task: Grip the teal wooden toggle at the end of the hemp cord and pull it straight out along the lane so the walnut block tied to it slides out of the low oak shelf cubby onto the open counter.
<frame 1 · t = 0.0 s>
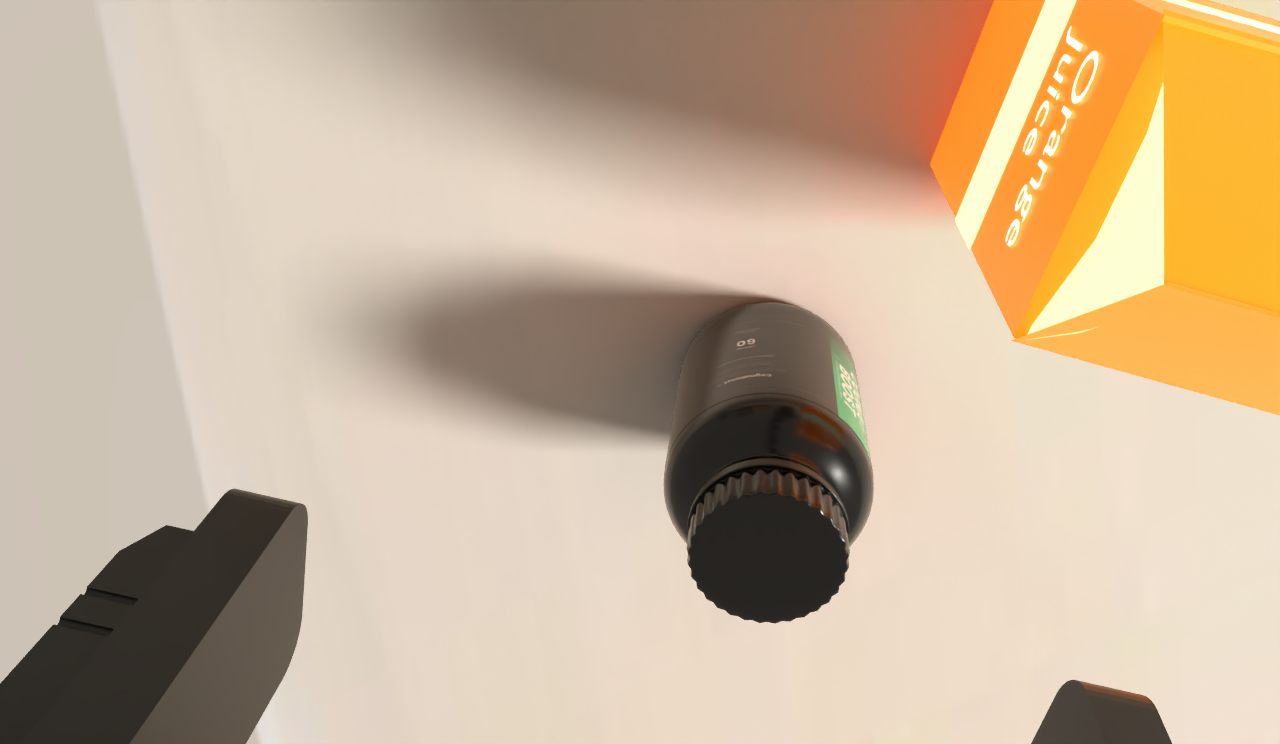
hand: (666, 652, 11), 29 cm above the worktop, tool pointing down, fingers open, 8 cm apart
supplement bottle: (767, 374, 43), on the worktop
orange juice: (1091, 94, 36), on the worktop
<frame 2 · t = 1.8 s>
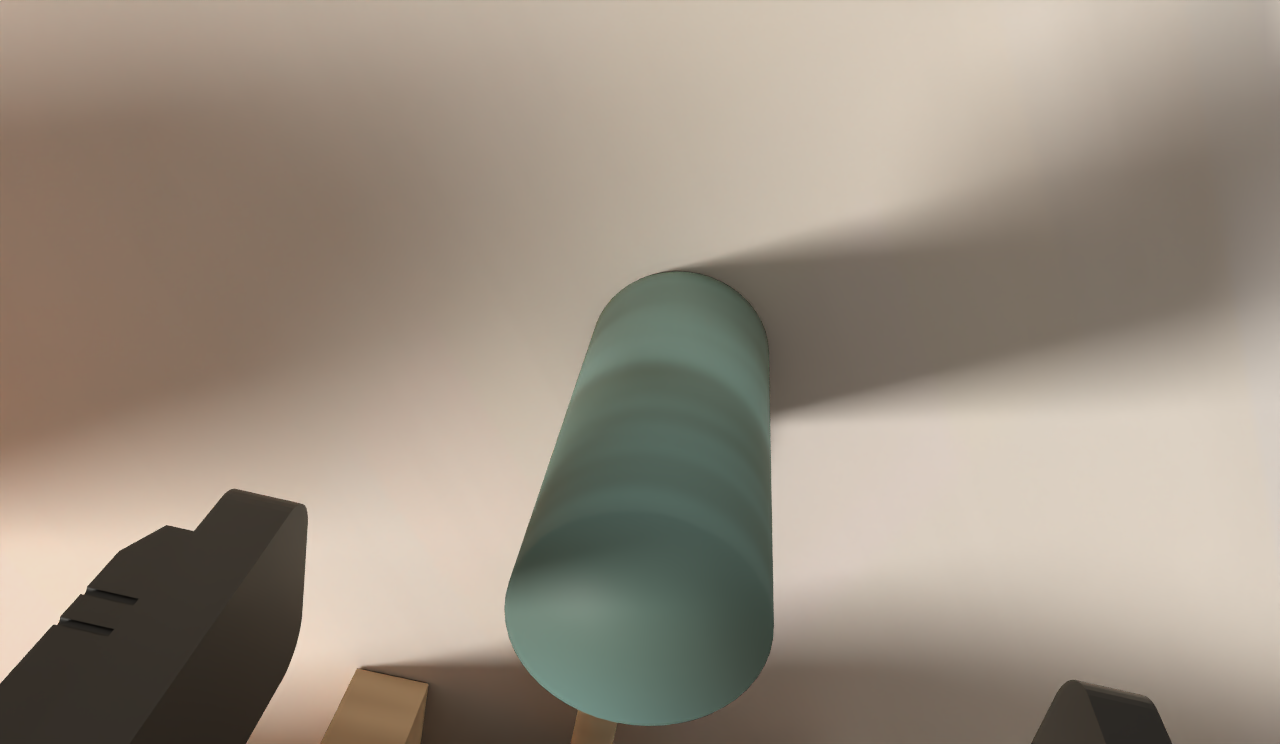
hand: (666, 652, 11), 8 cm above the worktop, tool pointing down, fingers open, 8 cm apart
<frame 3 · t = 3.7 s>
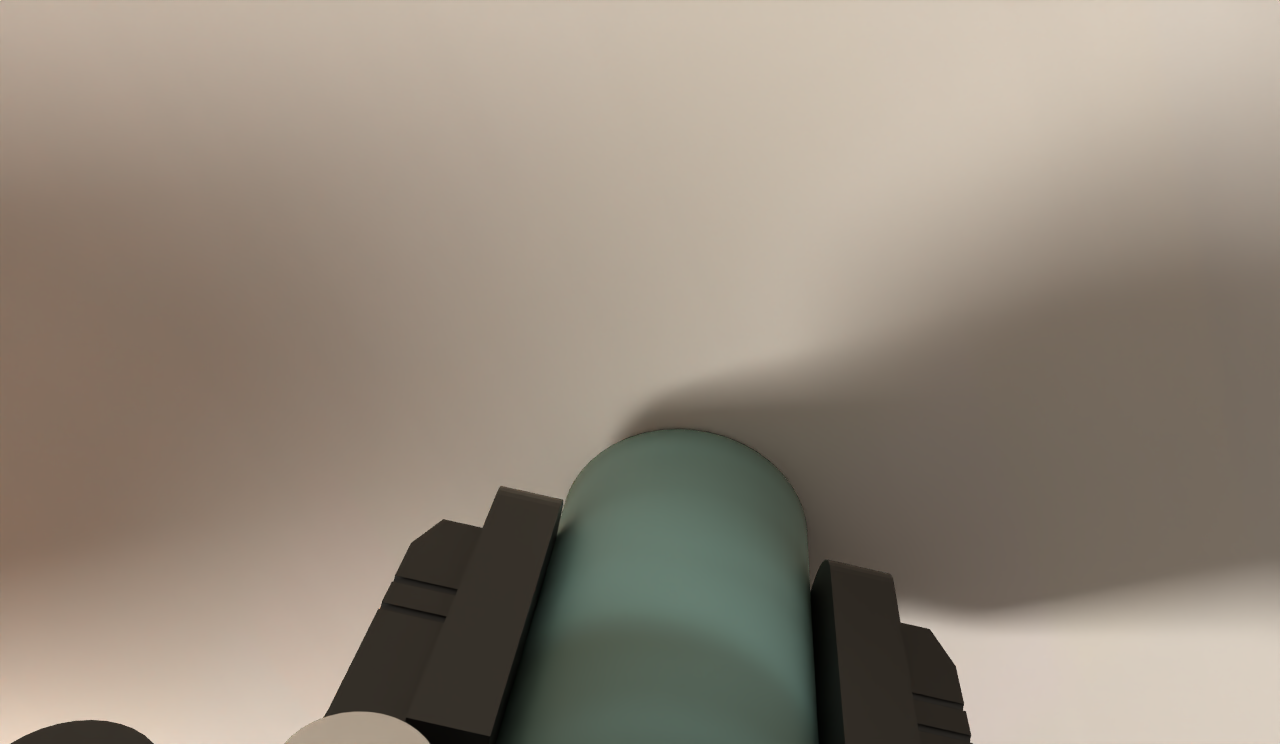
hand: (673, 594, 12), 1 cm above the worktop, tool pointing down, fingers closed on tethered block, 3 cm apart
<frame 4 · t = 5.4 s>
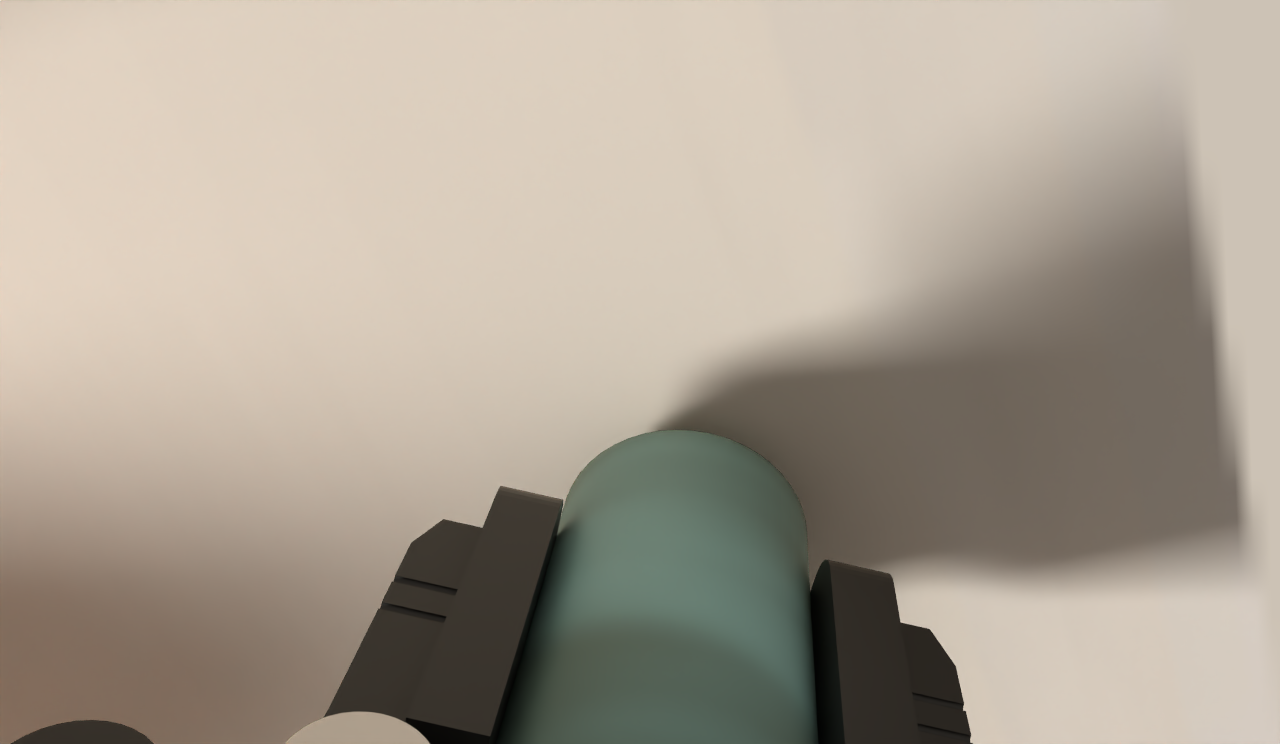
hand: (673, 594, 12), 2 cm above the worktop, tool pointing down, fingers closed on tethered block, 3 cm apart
when the fingers open (2 cm above the worktop, at t = 7.1 s): tethered block stays where it is, on the worktop.
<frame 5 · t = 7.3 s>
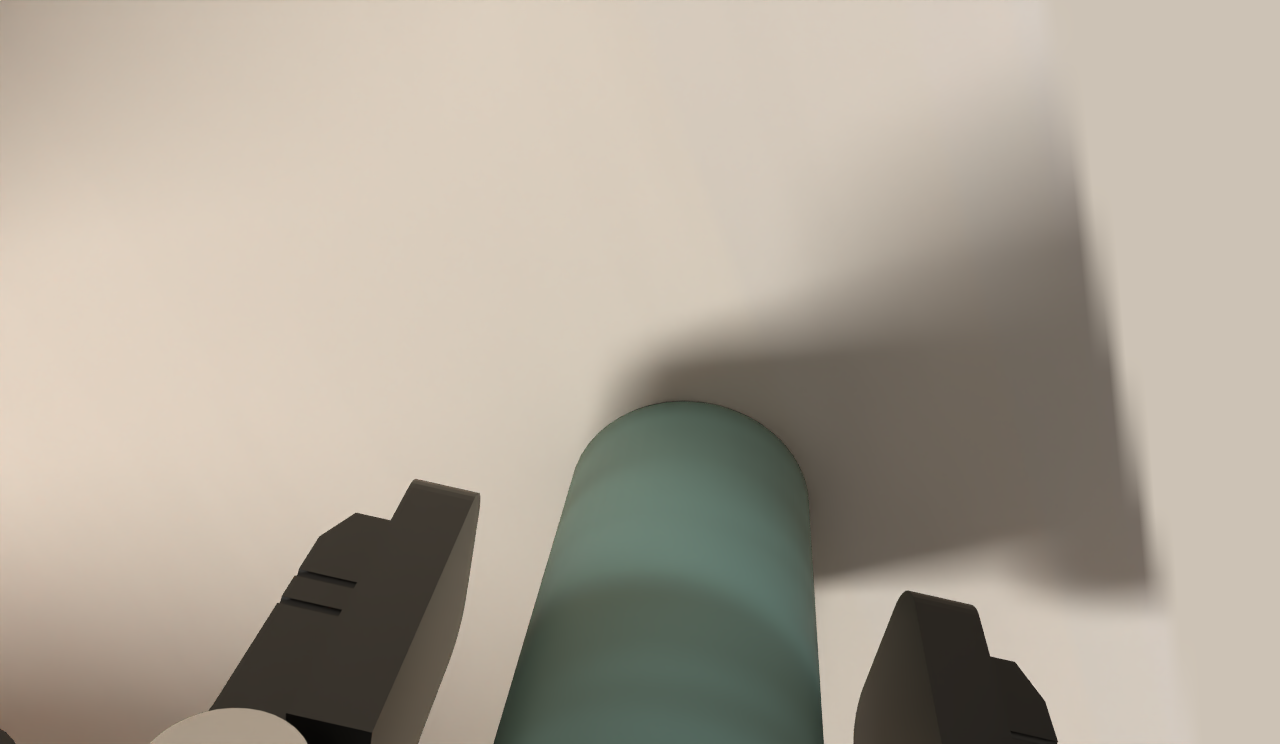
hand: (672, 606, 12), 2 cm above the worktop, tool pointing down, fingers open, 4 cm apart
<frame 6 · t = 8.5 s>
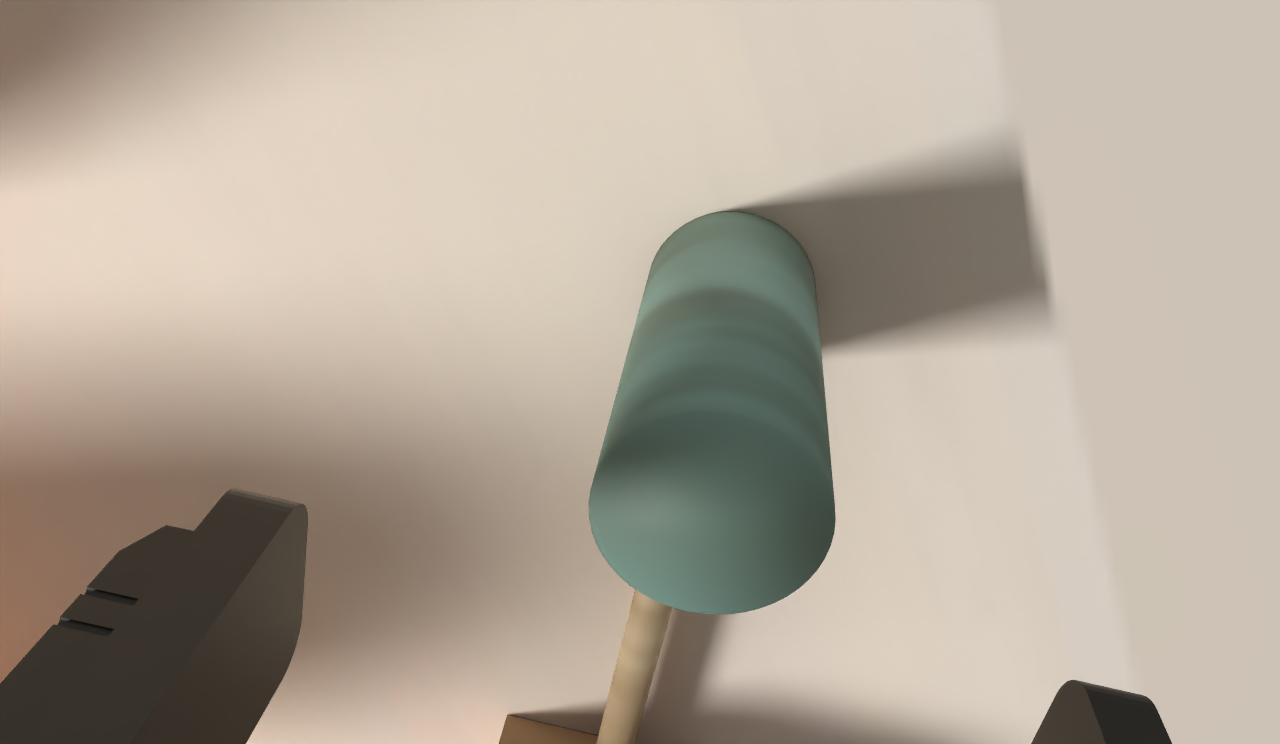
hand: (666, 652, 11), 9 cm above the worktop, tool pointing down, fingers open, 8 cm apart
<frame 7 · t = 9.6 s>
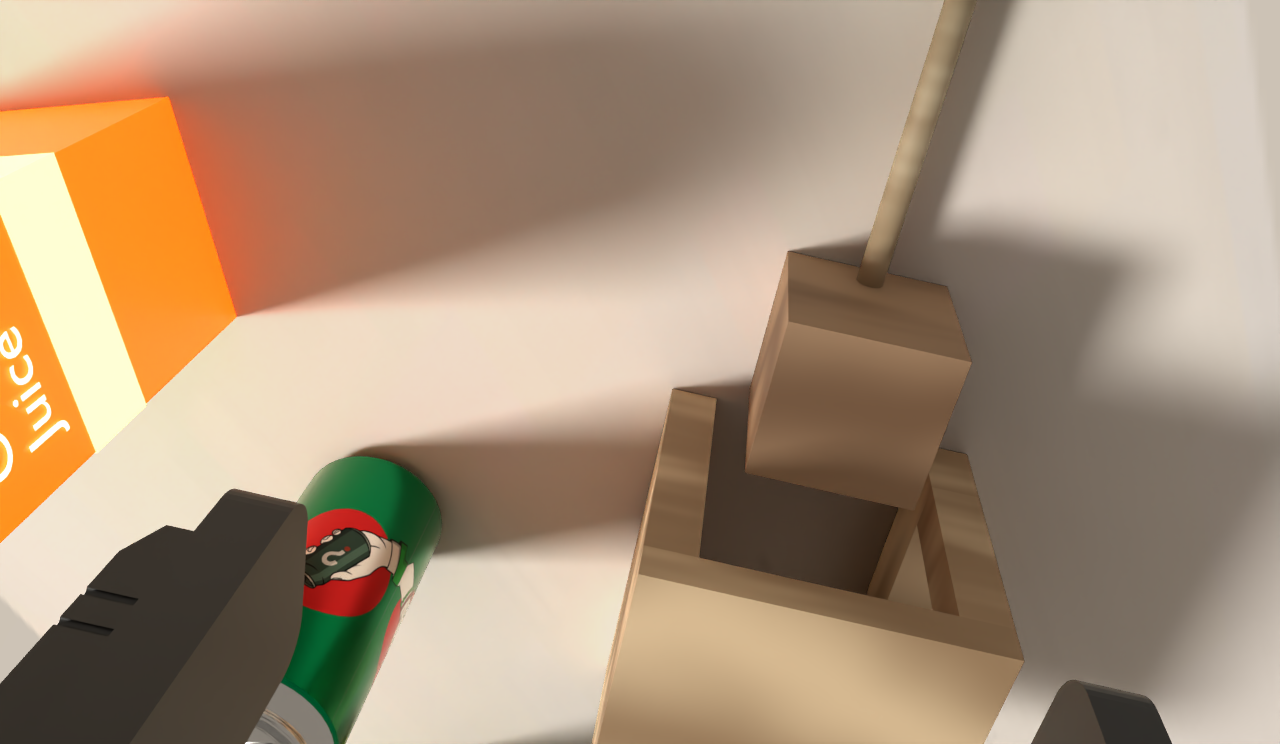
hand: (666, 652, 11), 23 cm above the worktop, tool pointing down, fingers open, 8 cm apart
soda can: (381, 502, 40), on the worktop
shelf cubby: (771, 571, 39), on the worktop
tethered block: (844, 339, 34), on the worktop
orange juice: (85, 217, 36), on the worktop
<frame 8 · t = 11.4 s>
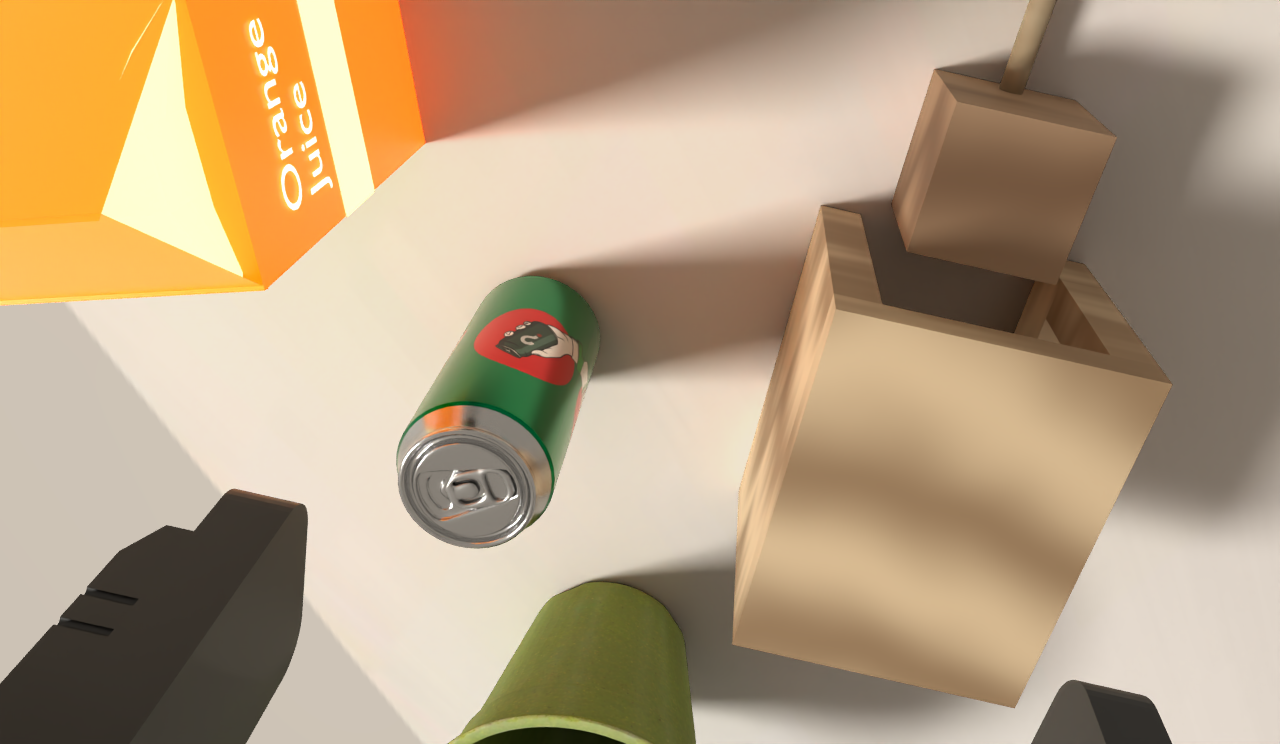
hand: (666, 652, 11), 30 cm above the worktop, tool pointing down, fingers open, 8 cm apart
soda can: (541, 326, 44), on the worktop
shelf cubby: (899, 385, 43), on the worktop
plant pot: (607, 635, 50), on the worktop
tethered block: (980, 153, 38), on the worktop
orange juice: (294, 49, 40), on the worktop
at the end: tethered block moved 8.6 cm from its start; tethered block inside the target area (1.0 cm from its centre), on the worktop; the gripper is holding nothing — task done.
